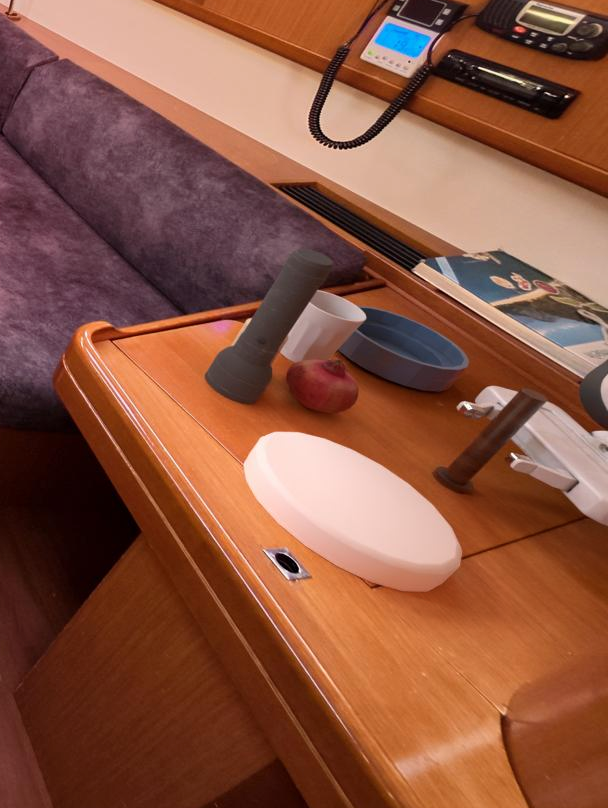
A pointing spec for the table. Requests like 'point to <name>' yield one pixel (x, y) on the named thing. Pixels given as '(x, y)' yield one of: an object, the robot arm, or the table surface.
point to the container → (352, 511)
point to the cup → (322, 328)
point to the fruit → (322, 385)
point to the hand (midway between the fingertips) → (485, 433)
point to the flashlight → (268, 328)
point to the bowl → (404, 351)
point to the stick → (490, 441)
